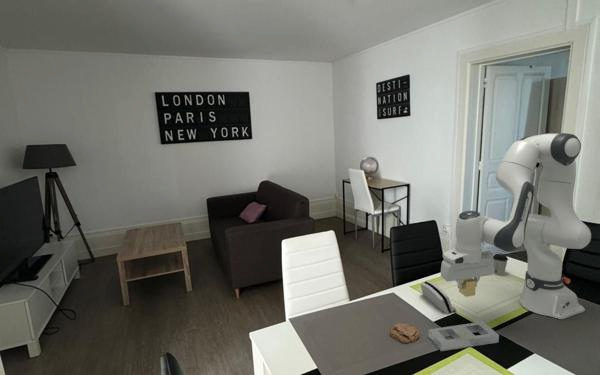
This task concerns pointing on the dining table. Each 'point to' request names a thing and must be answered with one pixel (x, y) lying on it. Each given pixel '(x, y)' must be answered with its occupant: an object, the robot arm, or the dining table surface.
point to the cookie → (404, 333)
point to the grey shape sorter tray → (463, 336)
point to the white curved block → (437, 296)
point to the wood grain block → (468, 287)
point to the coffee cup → (499, 264)
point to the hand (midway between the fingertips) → (467, 287)
